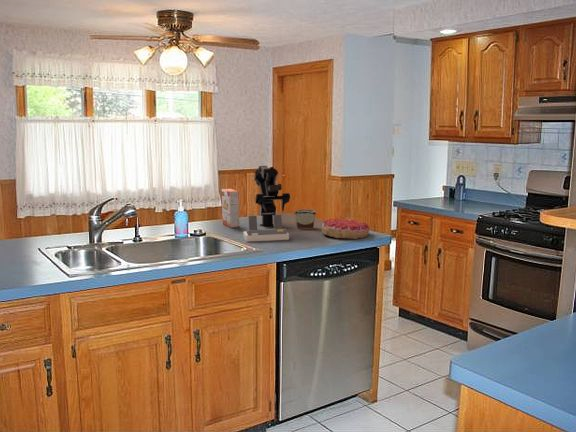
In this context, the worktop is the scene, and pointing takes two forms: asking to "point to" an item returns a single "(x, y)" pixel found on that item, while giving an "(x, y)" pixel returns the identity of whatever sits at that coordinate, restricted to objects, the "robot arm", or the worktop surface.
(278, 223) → the grey rectangular carton
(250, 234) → the switch panel
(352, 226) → the cake
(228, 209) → the cracker box
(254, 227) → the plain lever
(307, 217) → the food container
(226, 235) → the worktop surface
